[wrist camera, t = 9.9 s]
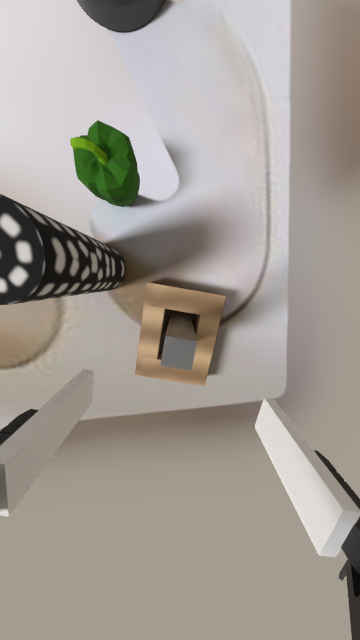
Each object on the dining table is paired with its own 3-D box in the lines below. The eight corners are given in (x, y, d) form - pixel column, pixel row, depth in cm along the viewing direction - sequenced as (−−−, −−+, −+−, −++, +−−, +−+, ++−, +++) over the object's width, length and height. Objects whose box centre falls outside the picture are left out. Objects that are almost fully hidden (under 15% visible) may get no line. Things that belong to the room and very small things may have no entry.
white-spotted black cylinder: (135, 269, 33) (67, 253, 13) (105, 299, 34) (5, 325, 14) (101, 234, 31) (-29, 159, 12) (72, 267, 33) (-88, 247, 13)
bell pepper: (153, 174, 29) (140, 121, 19) (135, 222, 31) (114, 196, 21) (107, 148, 28) (68, 79, 19) (90, 199, 30) (47, 160, 20)
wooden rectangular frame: (150, 282, 33) (146, 282, 30) (221, 294, 34) (225, 296, 30) (139, 366, 37) (134, 374, 34) (202, 376, 38) (204, 385, 34)
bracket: (171, 314, 35) (165, 336, 21) (190, 317, 35) (197, 341, 21) (165, 346, 36) (156, 386, 22) (184, 349, 36) (187, 391, 23)
